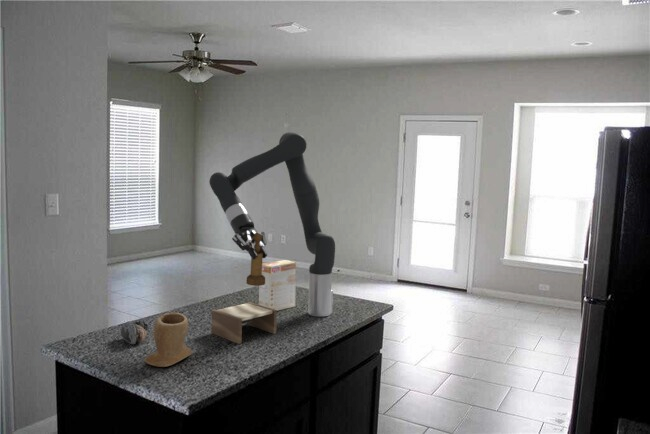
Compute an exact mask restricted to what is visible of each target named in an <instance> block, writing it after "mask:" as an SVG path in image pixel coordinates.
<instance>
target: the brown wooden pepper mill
mask: <svg viewBox="0 0 650 434" xmlns="http://www.w3.org/2000/svg"><path fill="white" fill-rule="evenodd" d="M260 233H261V232H259V233H255V234H254V236H253V239H254V241H255V246H254V245H253V248H254V250H255V252H256V253H257V255H258V257H257V258H256V259H254V260H253V259H252V258H251V257H250V259H251V261H250V274H249V275H248V276H246V284H247V285H248V286H255V287H256V286H257V287H259V286H261V285H264V284H265V277H264V276H263V275H262V264H263V259H264V258H263V253H262V252H259V251H260V247H261V246H260V244H259V243H260V241H261V239H262V235H261V234H260Z"/></svg>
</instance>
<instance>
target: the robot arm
mask: <svg viewBox="0 0 650 434" xmlns="http://www.w3.org/2000/svg"><path fill="white" fill-rule="evenodd" d="M307 146H308V144H307V141H306V139H305V137H304V136H303V135H301V134H299V133H297V132H291V131H290V132H286V133H283V134H282V136H281V137H280V139H279V142H278V144H277V145H276V146H274V147H273V148H271V149H269V150H267V151H265V152H262V153H260V154H258V155H254V156H252V157H250V158H248V159H245V160H243V161H242V162H239V164H237V165H235V166H234V167H232V169H231V173H230V174H229V175H228V176H227V175H226V174H225V173H223V172H220V171H218V172H215V173H212V174H211V176H210V177H209V186H210V188H211V190H212V192H213V194H214V195H215V196H216V197H217V199H218V201H219V204H220V206H221V208H222V210H223V212H224V214H225V216H226V219H227V222H229V224H230V227H231V228H232V231H233V232H234V235H233V236H232V238H231V239H232V241H233V242H234V243H235V244H236V245H237V247H239V248H240V249H241V251H246V252H248V255H249V256H250V259H251V258H252V259H253V260H254V259H256V258H257V257H258V255H257V253H256V252H255V249H254V246H255V241H254V239H253V236H254V234H255V233H260V234H261V235H262V239H261V241H260V243H259V245H260V246H261V247H260V251H259V252H262V253H263V258H262V259H266V258H267V256H268V252H267V250H266V249H265V247H266V246H267V244H268V243H267V238H266V233H265V232H264V231H261V232H258V230H256V228H255V224H254V221H253V219H252V217H251V215H250V214H249V212H248V211H247V209H246V207H245V206H244V205H243V203H242V202H241V200H240V198H239V196H238V195H237V193H236V192H235V191H236V190H237V189H238V188H240V187H241V186H242V185H243V184H244V183H246V182H248V181H250V180H252V179H253V178H255V177H257V176H258V175H259V176H260V175H261V174H262V173H264V172H266V171H267V170H269V169H271V168H273V167H275V166H277V165H279V164H282V163H284V162H285V165H286V168H287V172H288V175H289V181H290V185H291V188H292V193H293V197H294V200H295V204H296V208H297V209H298V214H299V217H300V220H301V224H302V228H303V235H304V239H305V246H306V248H307V250H308V251H309V253H310V254H312V255H314V263H311V264H310V265H309V267H308V268H309V269H308V278H309V279H308V304H307V305H308V311H307V314H308V315H310V316H313V317H327V316H330V315H331V314H332V313H333V299H334V295H333V294H334V291H333V289H332V284H333V283H332V281H333V280H332V277H333V275H332V273H333V268H334V265H335V257H336V255H335V254H336V241H335V239H334V237H333V236H332V235H330V234H326V233H324V232H323V231H322V229H321V225H320V222H319V212H320V211H319V210H320V198H319V194H318V189H317V187H316V183H315V181H314V179H313V177H312V175H311V173H310V171H309V170H308V168H307V165H306V163H305V158H304V153H305V152H306V150H307Z"/></svg>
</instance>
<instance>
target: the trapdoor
mask: <svg viewBox="0 0 650 434" xmlns="http://www.w3.org/2000/svg"><path fill="white" fill-rule="evenodd" d="M216 310H217V311H220V312H223V313H226V314H229V315H232V316H235V317H238V318H241V319H242V325H243V324H246V322H250V321H252V318H256V317H260V316H264V315H268V314H272V310H269V309H265V308H262V307H259V306H255V305H252V304H249V303H247V302H246V303H243V304H238V305H233V306H232V305H231V306H228V307H224V308H220V309H216Z"/></svg>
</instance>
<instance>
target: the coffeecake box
mask: <svg viewBox="0 0 650 434" xmlns="http://www.w3.org/2000/svg"><path fill="white" fill-rule="evenodd" d="M296 263H297V262H296V261H293V260H292V261H291V260H288V259H282V260H277V261H270V262H264V263H262V275H263V276H264V277H265V284H264V285H261V286H258V305H261V306H265V307H268V308H271V309H275V310H277V311H283V310H286V309H290V308H294V307H296V281H297V280H296V279H297V278H296V275H297V274H296V273H297V272H296V271H297V270H296V269H297V268H296V267H297V265H296Z"/></svg>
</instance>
